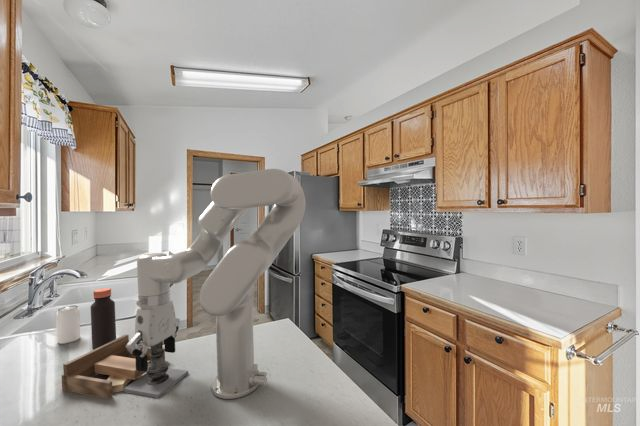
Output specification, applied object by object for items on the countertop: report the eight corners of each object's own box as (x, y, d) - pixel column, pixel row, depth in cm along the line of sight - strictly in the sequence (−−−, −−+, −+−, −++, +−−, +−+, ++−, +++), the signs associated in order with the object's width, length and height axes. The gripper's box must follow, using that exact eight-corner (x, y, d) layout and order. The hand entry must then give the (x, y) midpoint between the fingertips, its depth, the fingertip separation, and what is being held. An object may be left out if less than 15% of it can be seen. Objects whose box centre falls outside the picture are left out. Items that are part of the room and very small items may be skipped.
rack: (165, 361, 91) (164, 339, 91) (108, 398, 74) (107, 371, 74) (124, 355, 96) (123, 334, 95) (62, 389, 78) (61, 364, 78)
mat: (188, 373, 84) (188, 370, 84) (158, 397, 74) (158, 394, 74) (156, 368, 87) (156, 366, 87) (123, 391, 77) (123, 388, 77)
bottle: (116, 347, 101) (114, 290, 101) (91, 353, 97) (89, 294, 97) (116, 340, 107) (114, 286, 106) (93, 345, 103) (90, 289, 102)
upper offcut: (111, 363, 87) (111, 354, 87) (149, 369, 84) (149, 361, 84) (94, 372, 83) (94, 363, 82) (134, 379, 79) (134, 370, 79)
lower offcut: (140, 365, 91) (140, 357, 90) (123, 393, 77) (123, 384, 77) (121, 368, 89) (121, 360, 89) (101, 397, 76) (100, 387, 76)
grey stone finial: (159, 387, 77) (157, 342, 76) (140, 384, 78) (138, 340, 78) (174, 374, 83) (173, 332, 82) (156, 372, 84) (155, 330, 83)
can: (77, 334, 112) (76, 303, 112) (83, 339, 108) (81, 307, 108) (55, 341, 107) (53, 308, 106) (60, 346, 103) (58, 312, 103)
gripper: (138, 311, 71) (141, 381, 71) (188, 290, 87) (189, 347, 88) (114, 309, 72) (116, 376, 73) (167, 289, 89) (169, 344, 90)
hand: (156, 360), depth 80 cm, fingers open, 9 cm apart
